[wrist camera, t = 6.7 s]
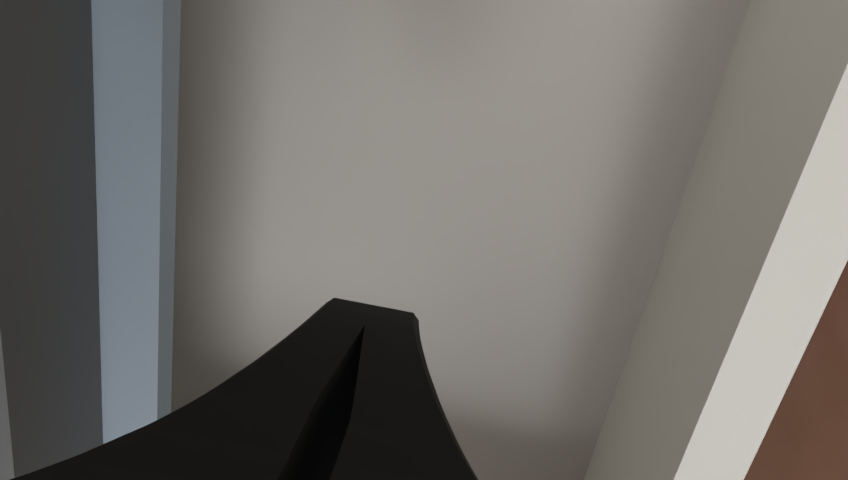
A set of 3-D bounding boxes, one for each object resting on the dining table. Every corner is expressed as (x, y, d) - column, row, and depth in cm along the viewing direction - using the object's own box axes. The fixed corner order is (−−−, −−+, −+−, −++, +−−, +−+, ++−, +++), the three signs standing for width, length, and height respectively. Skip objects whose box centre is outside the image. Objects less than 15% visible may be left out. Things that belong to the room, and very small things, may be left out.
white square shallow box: (598, 539, 20) (631, 717, 15) (-8, 421, 20) (-153, 562, 16) (864, -166, 13) (1077, -226, 8) (-91, -344, 13) (-413, -502, 8)
